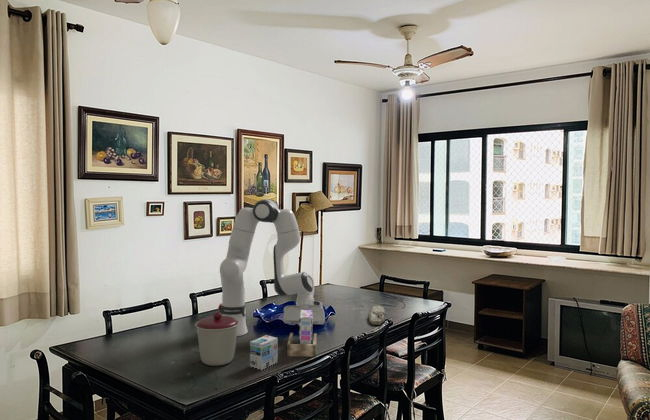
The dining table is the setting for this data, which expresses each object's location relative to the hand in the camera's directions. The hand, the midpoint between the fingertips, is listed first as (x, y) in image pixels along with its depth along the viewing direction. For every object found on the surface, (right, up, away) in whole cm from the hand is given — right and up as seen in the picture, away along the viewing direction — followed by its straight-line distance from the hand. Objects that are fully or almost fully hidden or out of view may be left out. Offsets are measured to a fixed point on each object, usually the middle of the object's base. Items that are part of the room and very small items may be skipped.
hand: (303, 331), depth 227 cm
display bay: (0, -6, -10) cm, 12 cm away
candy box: (+1, -6, -10) cm, 11 cm away
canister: (-35, -6, -26) cm, 44 cm away
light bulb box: (-15, -7, -30) cm, 34 cm away
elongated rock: (+40, -4, +44) cm, 59 cm away
